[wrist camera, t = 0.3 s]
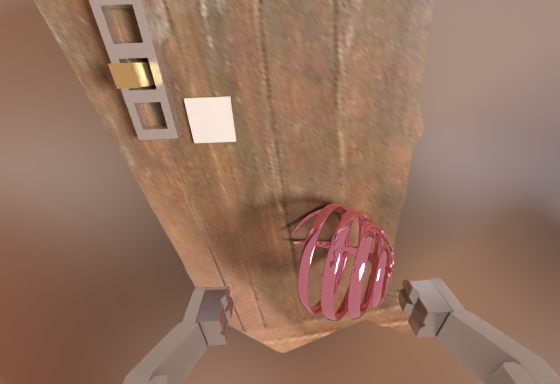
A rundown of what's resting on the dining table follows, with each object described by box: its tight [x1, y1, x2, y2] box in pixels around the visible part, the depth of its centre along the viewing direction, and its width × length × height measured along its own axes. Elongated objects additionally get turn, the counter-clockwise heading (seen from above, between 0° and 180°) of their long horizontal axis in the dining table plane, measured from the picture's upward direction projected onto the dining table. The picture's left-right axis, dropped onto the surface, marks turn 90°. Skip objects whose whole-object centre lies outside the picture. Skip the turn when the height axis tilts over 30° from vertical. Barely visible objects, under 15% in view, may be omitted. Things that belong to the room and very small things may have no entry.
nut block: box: [108, 63, 155, 89], centre depth 44 cm, size 4×4×8 cm
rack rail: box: [89, 0, 183, 140], centre depth 46 cm, size 26×9×3 cm, turn 2°
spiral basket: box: [292, 204, 394, 321], centre depth 57 cm, size 28×28×27 cm
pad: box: [184, 96, 236, 143], centre depth 52 cm, size 10×10×1 cm
